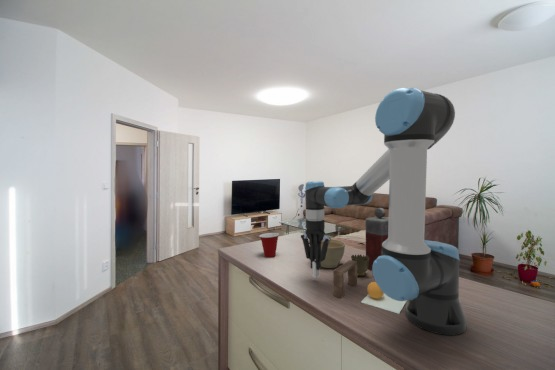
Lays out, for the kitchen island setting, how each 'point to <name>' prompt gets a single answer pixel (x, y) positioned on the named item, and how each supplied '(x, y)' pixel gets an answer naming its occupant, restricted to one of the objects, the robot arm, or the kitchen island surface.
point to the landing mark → (385, 303)
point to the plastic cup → (269, 244)
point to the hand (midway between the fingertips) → (315, 276)
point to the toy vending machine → (376, 235)
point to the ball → (374, 290)
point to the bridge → (339, 277)
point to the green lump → (361, 264)
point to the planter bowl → (333, 253)
